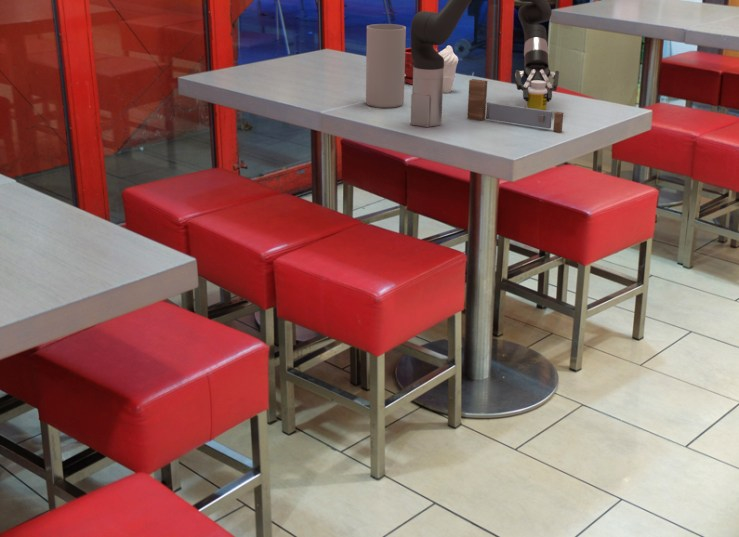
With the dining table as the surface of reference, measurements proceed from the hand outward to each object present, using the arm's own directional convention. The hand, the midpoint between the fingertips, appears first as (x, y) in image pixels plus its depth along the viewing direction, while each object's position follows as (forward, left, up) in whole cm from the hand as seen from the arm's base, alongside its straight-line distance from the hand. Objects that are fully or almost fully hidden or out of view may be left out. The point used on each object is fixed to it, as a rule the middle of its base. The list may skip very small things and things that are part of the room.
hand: (537, 100), depth 311 cm
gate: (-13, +1, -5) cm, 14 cm away
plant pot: (+25, +57, -6) cm, 63 cm away
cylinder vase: (-12, +49, -6) cm, 51 cm away
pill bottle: (+1, +1, -6) cm, 6 cm away
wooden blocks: (-13, +2, -6) cm, 14 cm away
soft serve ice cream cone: (+17, +42, -6) cm, 46 cm away
